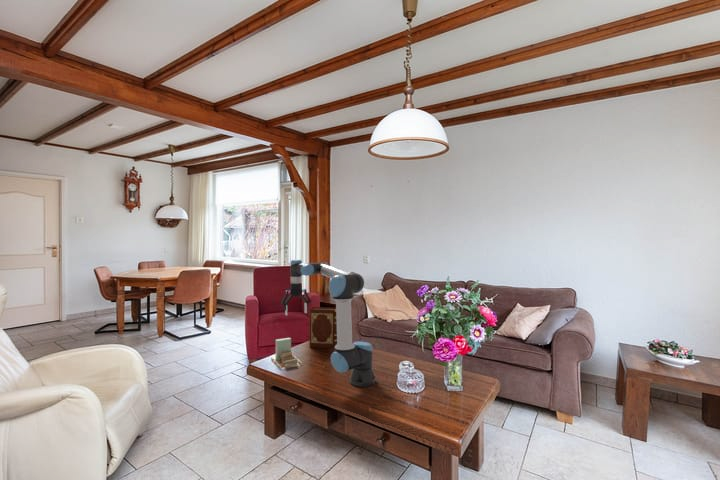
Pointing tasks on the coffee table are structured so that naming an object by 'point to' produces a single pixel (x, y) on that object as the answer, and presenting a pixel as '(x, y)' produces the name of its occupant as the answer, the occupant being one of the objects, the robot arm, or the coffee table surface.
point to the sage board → (282, 346)
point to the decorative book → (323, 327)
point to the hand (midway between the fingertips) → (296, 313)
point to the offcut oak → (285, 354)
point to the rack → (287, 362)
